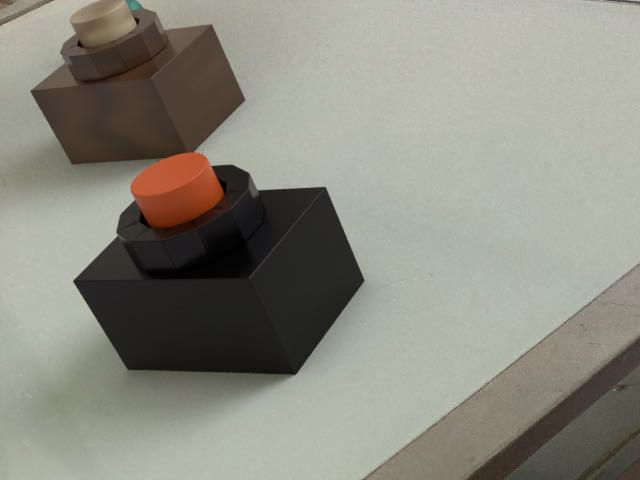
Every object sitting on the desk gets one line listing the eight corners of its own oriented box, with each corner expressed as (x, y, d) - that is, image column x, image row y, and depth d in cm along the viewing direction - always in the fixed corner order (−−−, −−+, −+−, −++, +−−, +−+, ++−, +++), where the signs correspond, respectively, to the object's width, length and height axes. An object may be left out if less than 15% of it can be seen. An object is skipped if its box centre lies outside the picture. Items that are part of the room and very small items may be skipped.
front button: (133, 232, 57) (113, 197, 55) (176, 188, 59) (158, 154, 58) (197, 230, 55) (179, 194, 54) (239, 185, 58) (222, 149, 56)
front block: (127, 370, 62) (52, 250, 57) (204, 282, 67) (141, 164, 62) (296, 375, 57) (231, 245, 52) (365, 281, 62) (312, 153, 57)
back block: (71, 165, 85) (15, 66, 80) (131, 110, 90) (81, 14, 84) (189, 157, 80) (137, 51, 75) (246, 100, 85) (200, -3, 80)
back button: (72, 53, 80) (57, 25, 78) (105, 27, 82) (91, -1, 81) (116, 48, 78) (102, 19, 77) (148, 21, 80) (135, -7, 79)
